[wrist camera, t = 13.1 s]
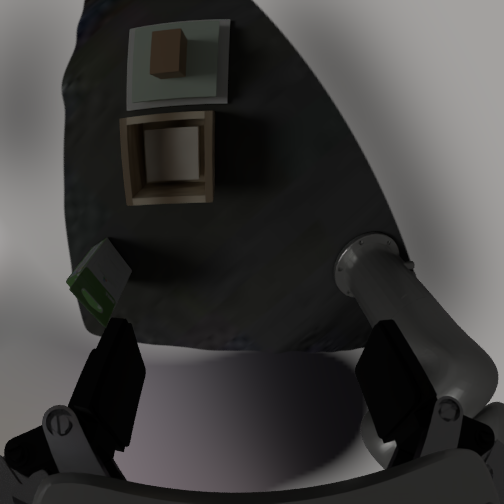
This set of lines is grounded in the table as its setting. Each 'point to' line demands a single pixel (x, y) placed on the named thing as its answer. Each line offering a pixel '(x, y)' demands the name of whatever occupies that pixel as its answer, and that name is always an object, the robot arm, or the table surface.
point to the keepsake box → (168, 157)
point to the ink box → (100, 280)
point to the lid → (175, 61)
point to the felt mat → (219, 99)
